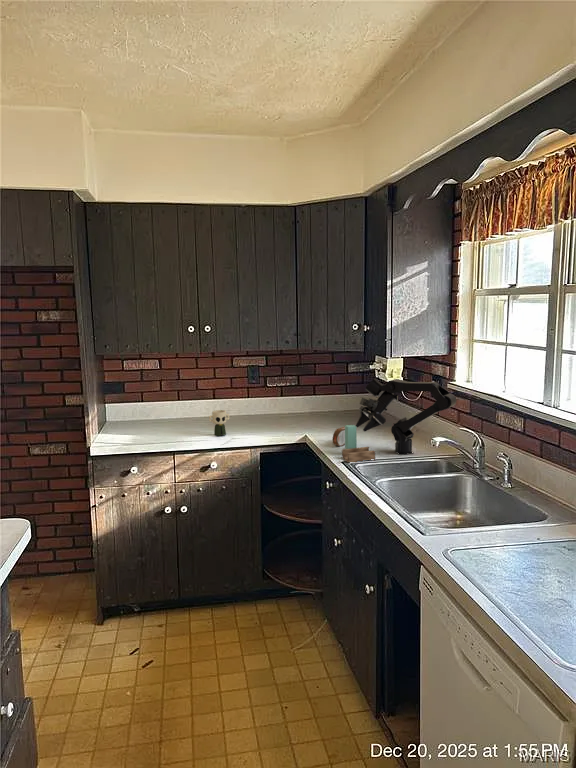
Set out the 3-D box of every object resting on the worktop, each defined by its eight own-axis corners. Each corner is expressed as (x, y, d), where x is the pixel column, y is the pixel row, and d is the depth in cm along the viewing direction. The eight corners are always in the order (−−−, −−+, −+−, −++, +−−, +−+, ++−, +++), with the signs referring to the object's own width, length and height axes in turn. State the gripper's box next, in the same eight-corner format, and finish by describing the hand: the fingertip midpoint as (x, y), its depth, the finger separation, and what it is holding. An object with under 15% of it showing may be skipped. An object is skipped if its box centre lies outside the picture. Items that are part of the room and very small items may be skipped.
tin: (349, 440, 283) (349, 424, 281) (354, 441, 281) (354, 424, 280) (332, 447, 271) (331, 430, 270) (337, 448, 269) (337, 430, 268)
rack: (367, 455, 255) (367, 446, 255) (374, 460, 247) (374, 451, 247) (342, 458, 252) (342, 449, 252) (348, 463, 244) (348, 454, 244)
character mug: (211, 438, 296) (210, 413, 295) (208, 435, 303) (207, 411, 301) (232, 435, 301) (230, 411, 299) (228, 432, 307) (227, 409, 305)
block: (353, 452, 261) (353, 424, 259) (356, 454, 257) (356, 426, 255) (345, 453, 260) (344, 425, 258) (348, 455, 256) (347, 427, 254)
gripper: (363, 388, 266) (341, 413, 265) (378, 394, 248) (355, 421, 247) (379, 403, 269) (357, 428, 268) (395, 410, 251) (372, 437, 250)
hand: (360, 428), depth 258 cm, fingers open, 9 cm apart
